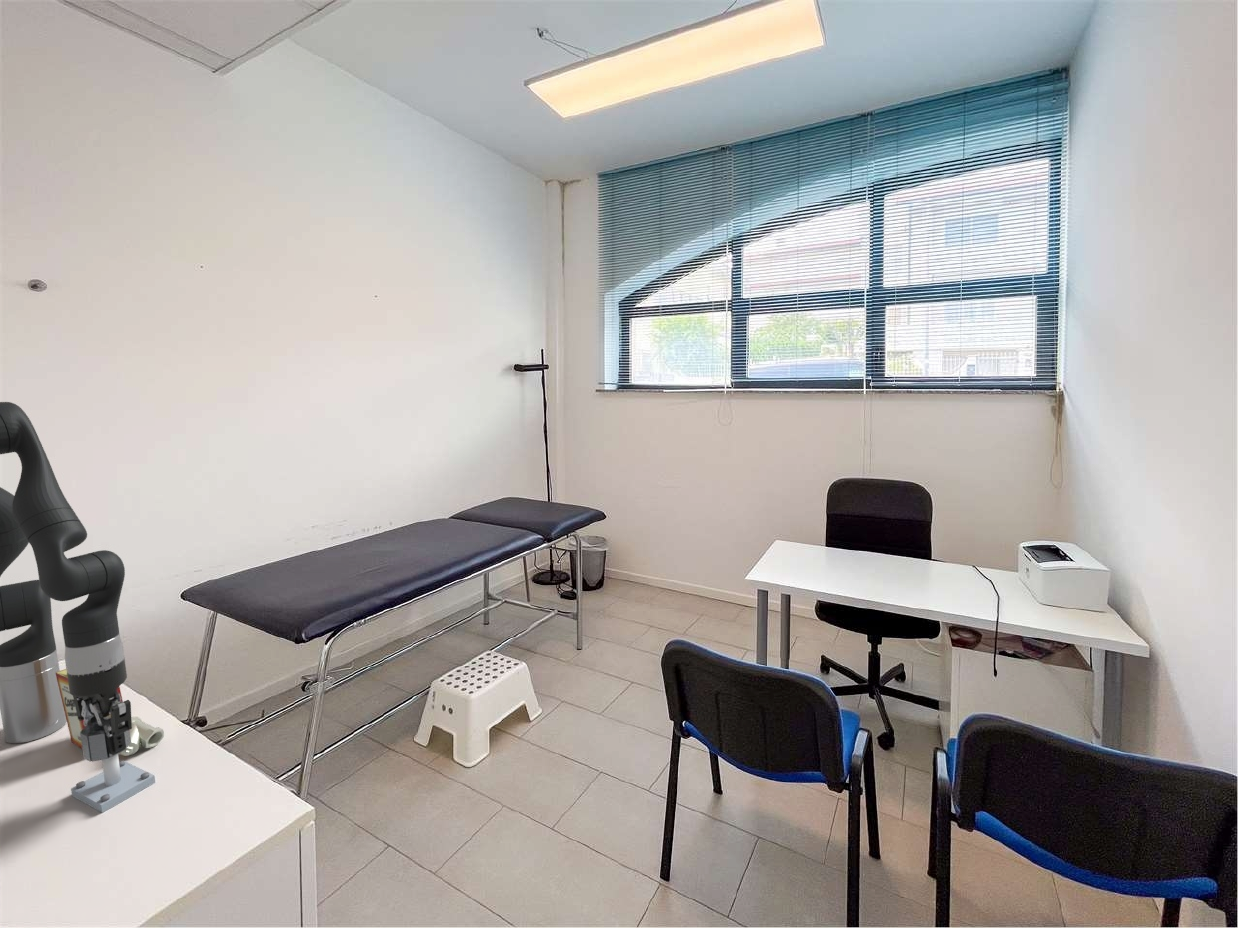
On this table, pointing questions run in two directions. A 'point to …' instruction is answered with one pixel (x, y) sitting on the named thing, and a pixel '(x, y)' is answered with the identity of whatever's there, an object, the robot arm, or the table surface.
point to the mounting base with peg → (112, 784)
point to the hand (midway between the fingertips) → (107, 746)
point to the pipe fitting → (142, 736)
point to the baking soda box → (71, 708)
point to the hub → (98, 742)
